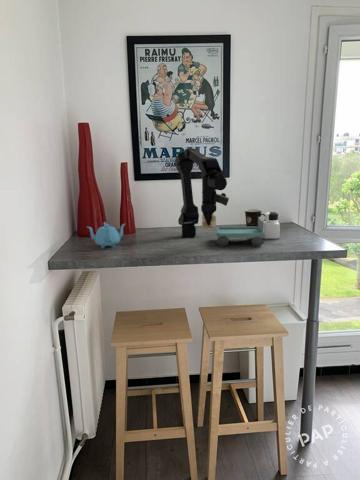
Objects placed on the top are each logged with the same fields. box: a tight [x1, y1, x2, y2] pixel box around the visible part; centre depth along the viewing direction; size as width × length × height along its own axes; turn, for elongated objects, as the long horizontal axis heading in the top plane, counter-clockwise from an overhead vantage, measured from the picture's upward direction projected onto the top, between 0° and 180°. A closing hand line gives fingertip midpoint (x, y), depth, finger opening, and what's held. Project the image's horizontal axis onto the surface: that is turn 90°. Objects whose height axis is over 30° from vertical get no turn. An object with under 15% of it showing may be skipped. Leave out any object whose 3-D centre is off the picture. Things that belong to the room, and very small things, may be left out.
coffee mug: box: [244, 208, 265, 227], centre depth 189 cm, size 12×9×10 cm
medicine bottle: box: [263, 211, 281, 240], centre depth 172 cm, size 7×7×12 cm
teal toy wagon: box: [216, 216, 264, 248], centre depth 163 cm, size 20×14×11 cm
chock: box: [201, 213, 217, 229], centre depth 157 cm, size 6×5×5 cm
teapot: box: [87, 221, 126, 249], centre depth 163 cm, size 13×13×10 cm
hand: (209, 224), depth 157 cm, fingers closed on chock, 5 cm apart
